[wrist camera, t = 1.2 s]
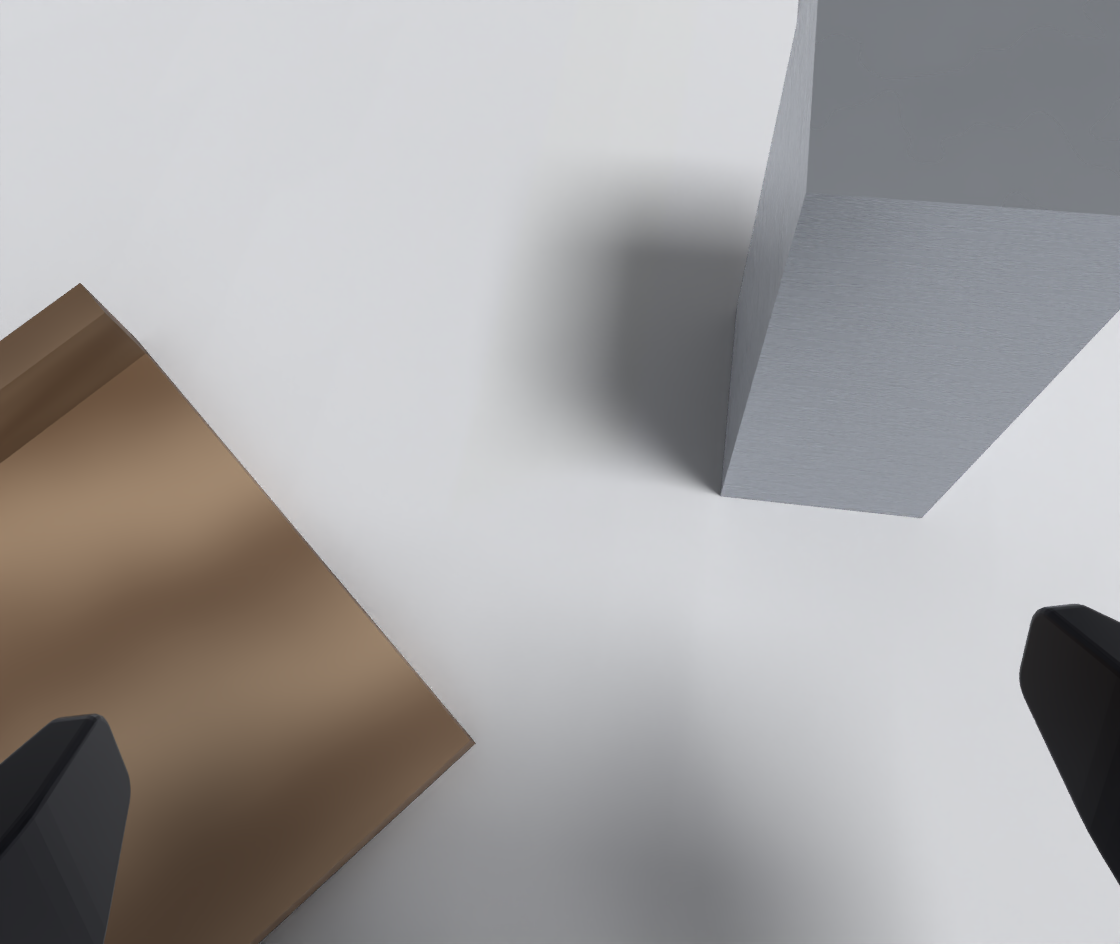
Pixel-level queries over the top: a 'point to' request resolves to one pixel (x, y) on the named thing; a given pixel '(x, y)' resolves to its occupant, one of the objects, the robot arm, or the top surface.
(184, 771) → the plate
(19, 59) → the top surface
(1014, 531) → the top surface
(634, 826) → the top surface
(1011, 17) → the jaw
